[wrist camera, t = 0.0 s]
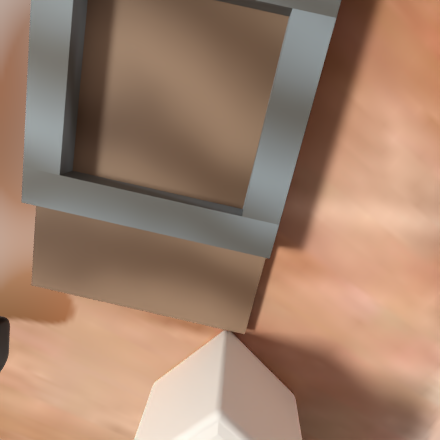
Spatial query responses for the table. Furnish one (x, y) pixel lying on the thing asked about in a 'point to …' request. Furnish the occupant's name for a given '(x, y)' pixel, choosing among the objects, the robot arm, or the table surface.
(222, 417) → the medicine bottle
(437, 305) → the table surface
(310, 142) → the table surface
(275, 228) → the brown panel with frame
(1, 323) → the robot arm
